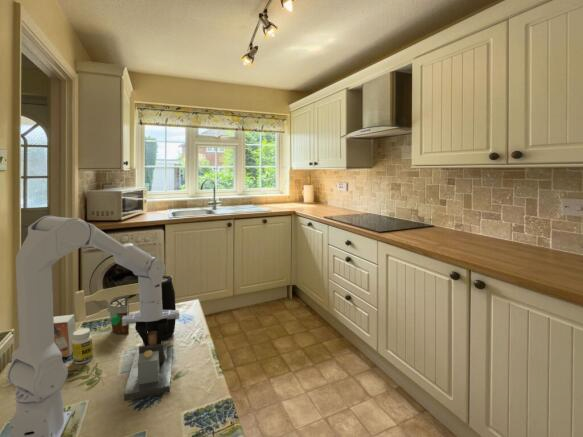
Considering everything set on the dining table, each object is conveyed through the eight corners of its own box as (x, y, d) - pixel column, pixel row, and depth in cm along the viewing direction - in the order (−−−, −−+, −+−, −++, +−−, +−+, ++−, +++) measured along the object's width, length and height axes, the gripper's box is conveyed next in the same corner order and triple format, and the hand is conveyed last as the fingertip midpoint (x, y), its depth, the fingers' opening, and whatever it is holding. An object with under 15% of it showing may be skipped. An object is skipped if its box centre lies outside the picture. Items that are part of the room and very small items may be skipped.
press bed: (170, 391, 78) (169, 381, 77) (124, 400, 75) (123, 389, 74) (173, 349, 96) (172, 341, 96) (136, 355, 93) (136, 346, 93)
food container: (110, 323, 113) (108, 296, 112) (129, 320, 116) (128, 294, 114) (106, 339, 102) (104, 309, 101) (128, 336, 105) (126, 306, 103)
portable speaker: (145, 333, 106) (142, 276, 104) (174, 327, 111) (172, 272, 108) (146, 345, 99) (143, 284, 96) (178, 338, 103) (176, 279, 101)
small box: (37, 360, 90) (34, 325, 89) (46, 350, 96) (43, 316, 94) (70, 356, 93) (67, 321, 91) (77, 346, 98) (74, 313, 97)
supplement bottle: (83, 365, 88) (81, 336, 87) (69, 363, 89) (66, 334, 88) (97, 356, 93) (95, 328, 92) (83, 354, 94) (81, 326, 93)
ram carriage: (163, 362, 87) (162, 339, 86) (139, 365, 85) (138, 343, 85) (165, 349, 94) (164, 328, 93) (143, 352, 92) (141, 331, 91)
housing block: (158, 381, 79) (157, 355, 78) (138, 384, 78) (137, 358, 77) (159, 370, 83) (158, 346, 83) (141, 374, 82) (139, 349, 81)
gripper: (178, 291, 95) (180, 334, 96) (124, 296, 90) (127, 342, 92) (178, 300, 88) (180, 346, 90) (119, 306, 84) (122, 355, 85)
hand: (153, 345), depth 90 cm, fingers closed on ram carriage, 3 cm apart
